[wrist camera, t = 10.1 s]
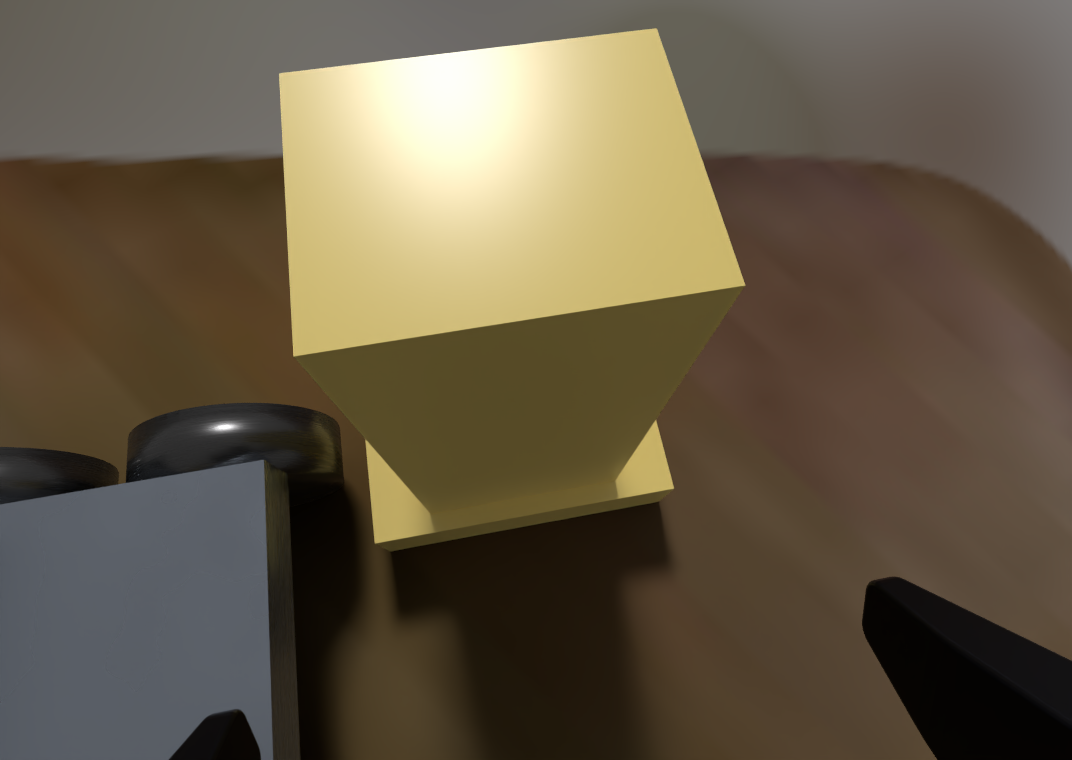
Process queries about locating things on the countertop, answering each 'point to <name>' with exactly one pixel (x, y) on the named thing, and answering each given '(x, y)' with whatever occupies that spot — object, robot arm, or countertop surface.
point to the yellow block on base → (502, 274)
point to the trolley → (157, 584)
